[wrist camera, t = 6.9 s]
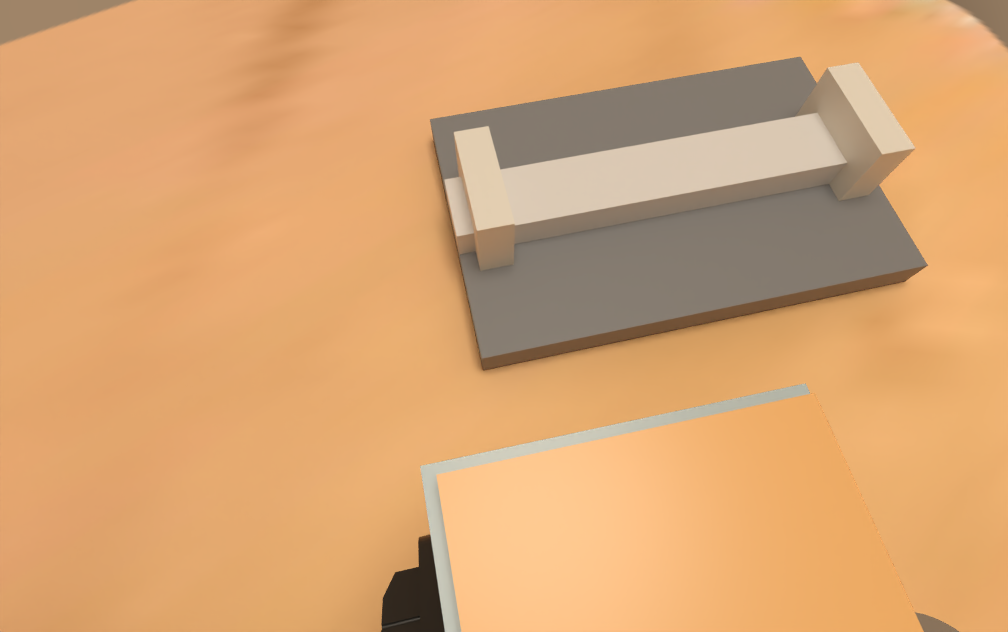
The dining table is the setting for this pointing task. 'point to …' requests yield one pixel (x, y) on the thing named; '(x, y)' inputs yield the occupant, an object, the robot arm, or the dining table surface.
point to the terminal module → (666, 529)
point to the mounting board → (668, 246)
